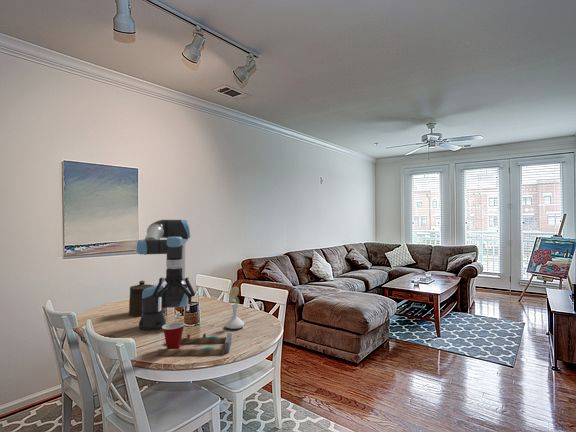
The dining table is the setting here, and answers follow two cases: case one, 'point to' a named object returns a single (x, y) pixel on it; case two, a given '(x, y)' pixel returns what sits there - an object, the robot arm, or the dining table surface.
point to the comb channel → (196, 351)
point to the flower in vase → (234, 311)
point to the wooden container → (137, 299)
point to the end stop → (228, 343)
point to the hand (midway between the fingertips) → (173, 310)
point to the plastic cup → (173, 334)
